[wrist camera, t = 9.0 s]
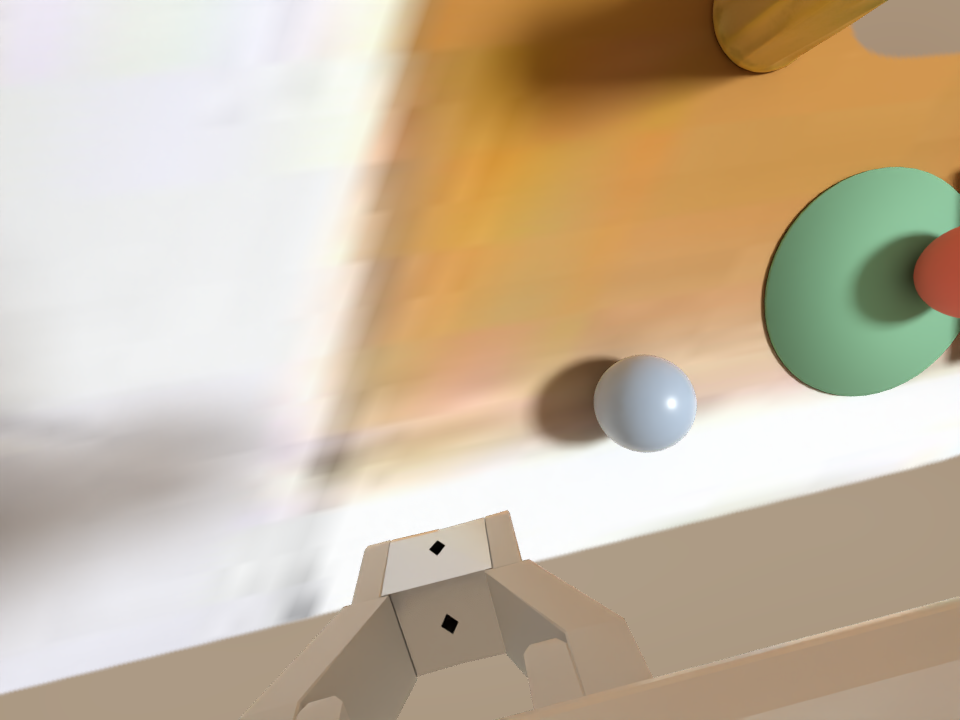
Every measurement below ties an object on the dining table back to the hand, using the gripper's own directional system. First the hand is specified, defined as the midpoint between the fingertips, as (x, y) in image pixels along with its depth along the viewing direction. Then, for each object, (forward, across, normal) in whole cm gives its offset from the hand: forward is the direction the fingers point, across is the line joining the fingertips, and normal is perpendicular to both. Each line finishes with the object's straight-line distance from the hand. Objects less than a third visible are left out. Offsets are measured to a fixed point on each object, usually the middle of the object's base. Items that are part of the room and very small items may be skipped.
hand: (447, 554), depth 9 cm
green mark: (+18, -27, +3) cm, 33 cm away
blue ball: (+15, -10, +5) cm, 19 cm away
